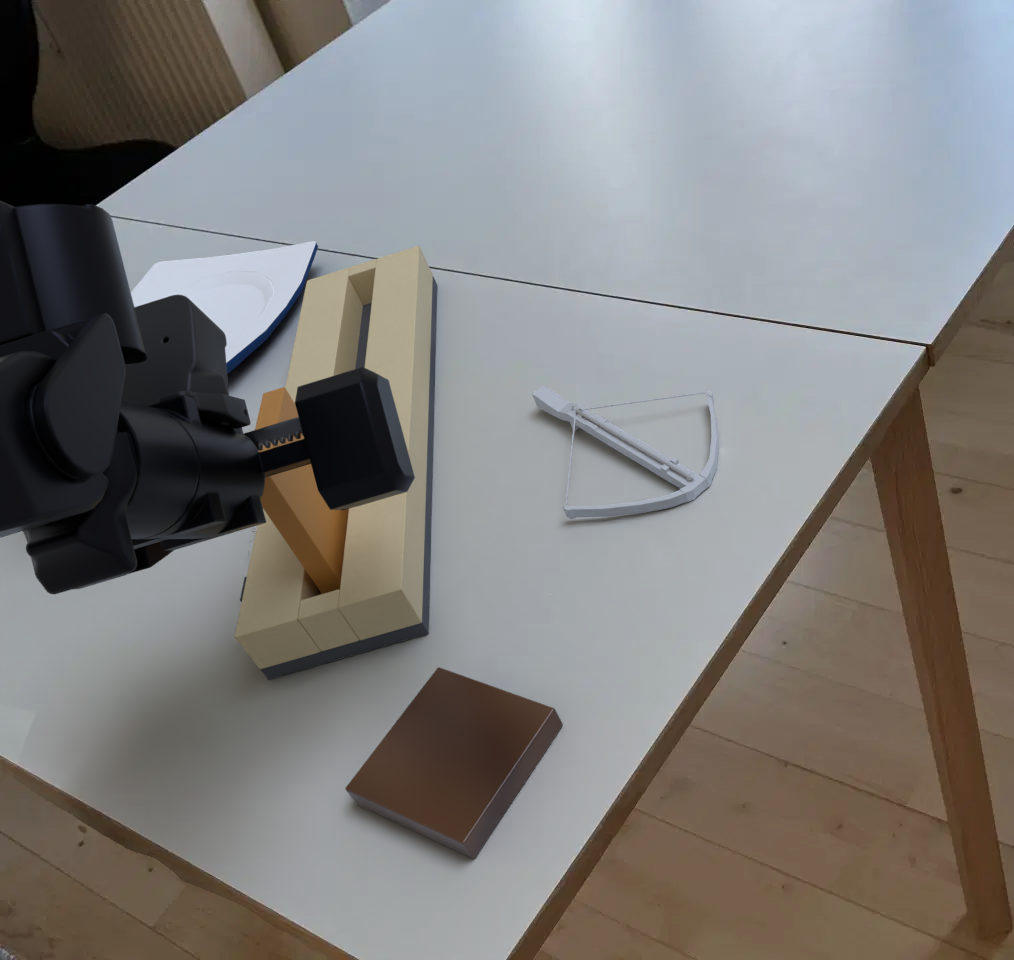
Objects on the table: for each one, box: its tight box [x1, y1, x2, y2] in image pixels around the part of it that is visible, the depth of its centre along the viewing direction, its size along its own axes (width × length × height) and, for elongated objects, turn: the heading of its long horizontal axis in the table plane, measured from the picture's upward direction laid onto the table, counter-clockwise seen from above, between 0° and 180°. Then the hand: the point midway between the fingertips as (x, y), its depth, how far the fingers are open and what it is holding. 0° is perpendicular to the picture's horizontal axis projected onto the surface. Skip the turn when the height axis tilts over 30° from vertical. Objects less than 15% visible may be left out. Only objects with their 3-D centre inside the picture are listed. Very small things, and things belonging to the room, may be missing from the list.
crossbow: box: [531, 384, 720, 520], centre depth 71 cm, size 16×13×2 cm
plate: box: [130, 240, 319, 375], centre depth 98 cm, size 20×20×3 cm
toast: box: [254, 386, 349, 594], centre depth 65 cm, size 8×1×11 cm, turn 8°
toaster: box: [234, 245, 438, 680], centre depth 78 cm, size 40×11×4 cm, turn 8°
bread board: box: [344, 666, 564, 859], centre depth 56 cm, size 8×8×2 cm
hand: (286, 487), depth 63 cm, fingers open, 9 cm apart
